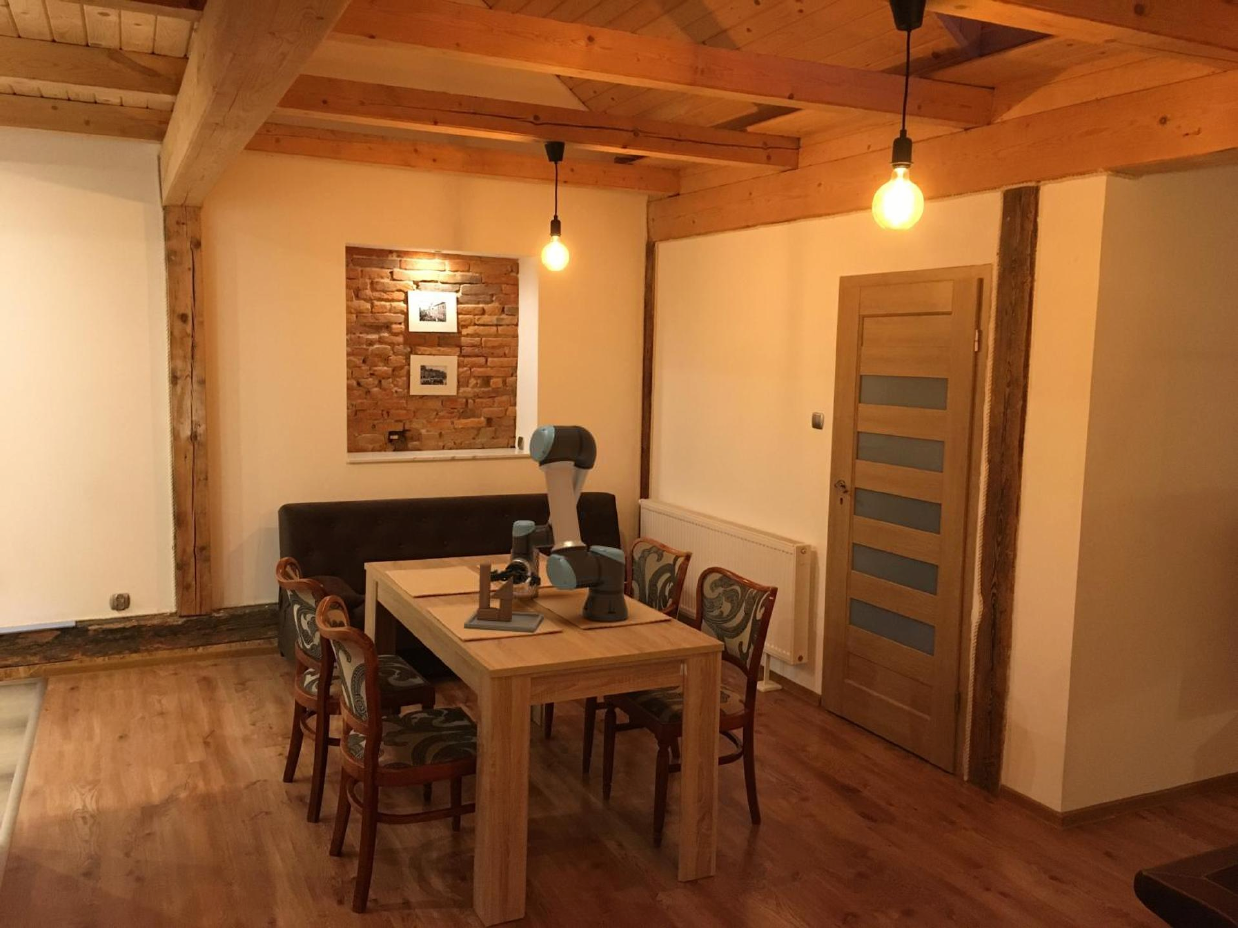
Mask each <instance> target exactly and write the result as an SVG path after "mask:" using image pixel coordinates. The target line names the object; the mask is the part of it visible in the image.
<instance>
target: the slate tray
mask: <svg viewBox="0 0 1238 928" xmlns="http://www.w3.org/2000/svg"><path fill="white" fill-rule="evenodd" d="M543 620H544V613H535V612H533V613H532V612H520V611H519V612H517V611H512V619H511V621H510V622H505V621H492V620H478V619H477V609H476V611H474V612H473V613H472V615H470V616H469V618H468V619H466V621H465V622H464V623H463V629H473V630H490V631H502V632H516V633H517V632H521V633H535V632H536V630H537V628H538V627H539V625H540V624H541V623H542V621H543Z"/></svg>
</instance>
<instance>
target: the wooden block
mask: <svg viewBox="0 0 1238 928" xmlns="http://www.w3.org/2000/svg"><path fill="white" fill-rule="evenodd" d="M491 571H492V564H491V563H490V562H482V563H480V564H479V577H480V581H479V580H478V581H479V585H478V587H479V588H478V590H479V593H478V608H477V609H476V610H477V619H478V620H492V621H505V622H510V621H511V619H512V612H513V602H514V601H513V599H514V598H513V595H514V584H513V576H512V577H511V578H510V579H509V580H508V581H505V582H504V583H503V585H501V586H500V587H499V588H498V589H497V590H496V591H494V593H493V594H491V590H492V588H491V586H492V582H491ZM491 599H492V600H499V607H496V606H493V607H492V606H491Z"/></svg>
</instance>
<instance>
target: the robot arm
mask: <svg viewBox="0 0 1238 928" xmlns="http://www.w3.org/2000/svg"><path fill="white" fill-rule="evenodd" d="M528 447H529V450H528V451H529V456H530V457H531V460H532V461H534V462H536V463H538V468H539V470H540V471H542V472H543V473H544V477H545V486H546V493H547V500H548V505H549V513H550V515H549V517H548V520H547V521H548V522H547V523H546V524H542V525H536V524H535V522H534V521H532V520H516V521H515V522H513V525H512V533H511V534H512V550H511V562H510V563H509V564H508V565H507V566H506V567H505V569H504V570H500V571H499V569H494V570H491V583H494V582H495V583H496V582H503V583H506V582H507V581H508V580H509V579H510V578H511V577H512V576H513V585H520V584H523V583H524V584H525V587H524V590H525V591H528V590H529V589H530V588H531V587H534V586H539V587H541V586H542V585H541V584H542V578H541V577H540V576H539V575H537V574H536V572H535V571H534V570H535V567H536V560H535V558H534V557H535V556H534V555H535V553H534V552H535V548H545V547H546V548H547V547H552V549H550V554H551V555H549V556H548V558H547V559H546V564H545V571H546V572H545V573H546V577H547V578H548V581H549V582H550V584H551V585H552V586H553V588H555V589H556V590H558V591H574V590H579V589H580V590H581V589H588V593H587V596H586V599H585V602H584V604H583V607H582V617H583V618H585V619H587V620H590V621H594V622H595V621H596V622H604V623H605V622H606V623H607V622H608V623H609V622H611V623H612V622H621V621H624V620H627V619H628V617H629V607H628V605H627V602H626V599H625V595H624V593H625V592H624V590H625V569H626V568H625V566H626V555H625V553H624V551H623V550H621V549H619V548H616V547H615V548H614V547H609V546H603V545H591V546H590V548H589V551H588V548H587V544H585V543H584V542H583V541H582V539H581V533H580V525H579V518H578V512H577V505H578V503H579V502H578V501H579V499H580V496H581V493H582V490H583V488H584V486H585V482H586V479H587V477H588V475H589V471H590V470H592V469H593V468H594V466H595V464H596V460H597V455H598V453H597V452H598V451H597V450H598V448H597V443H596V440H595V438H594V435H593V434H592V432H590V430H588V429H587V428H585V427H584V426H581V425H553V424H551V425H545V426H543V425H542V426H538V427H537V428H536V429H535V430H534V431H533V433H532V435H531V437H530V441H529V446H528ZM478 581H480V576H479V580H478Z"/></svg>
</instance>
